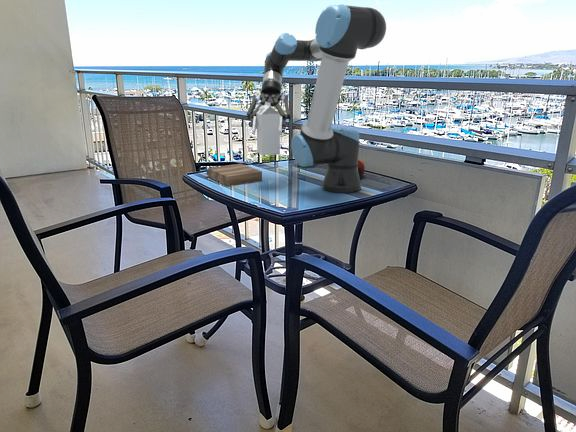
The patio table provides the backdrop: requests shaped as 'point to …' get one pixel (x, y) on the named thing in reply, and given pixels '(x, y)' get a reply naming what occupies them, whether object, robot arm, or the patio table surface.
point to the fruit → (361, 167)
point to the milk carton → (268, 130)
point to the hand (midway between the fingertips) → (266, 132)
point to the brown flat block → (234, 174)
